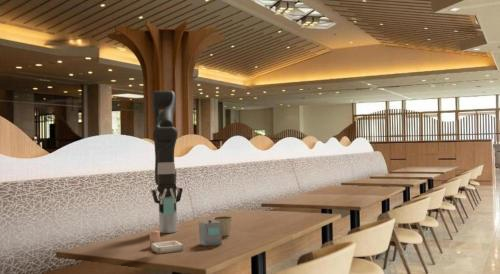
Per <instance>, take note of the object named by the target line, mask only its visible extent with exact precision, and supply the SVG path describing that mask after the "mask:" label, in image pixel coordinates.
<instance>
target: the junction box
mask: <svg viewBox="0 0 500 274" xmlns="http://www.w3.org/2000/svg"><path fill="white" fill-rule="evenodd" d="M198 237H199V245H201V246H203V247H205V248H206V246H207V247H212V246H221V245H223V238H222V237H223V236H222V232H221V222H219V221H217V220H214V219H213V220H211V219H208V220H204V221H198Z"/></svg>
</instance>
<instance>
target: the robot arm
mask: <svg viewBox="0 0 500 274" xmlns="http://www.w3.org/2000/svg"><path fill="white" fill-rule="evenodd" d="M176 98H177V97H176V93H175V91H173V90H154V91H153V92H152V100H151V101H152V111H153V124H154V125H153V131H152V139H153V142H154V143H153V144H154V156H155V157H154V159H155V160H154V181H155V185H156V186H157V187H156V188H155V189H151V190H150V193H151V194H152V199H153V201H154V203H155V204H157V205H158V224H159V225H158V226H159V227H158V228H159V231H160V234H161V233H162V234H170V233H171V234H172V233H176V232H178V205H177V203H180V201H181V198H182V194H183V188H182V187H177V171H176V170H177V169H176V165H175V148H176V143H177V139H178V133H179V132H178V129H177V128H176V127H174V115H175V110H176V104H177V101H176V100H177V99H176ZM157 195H158V196H157ZM169 197H170V198H174V214H173V215H162V214H161V213H163V199H164V198H169Z"/></svg>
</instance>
